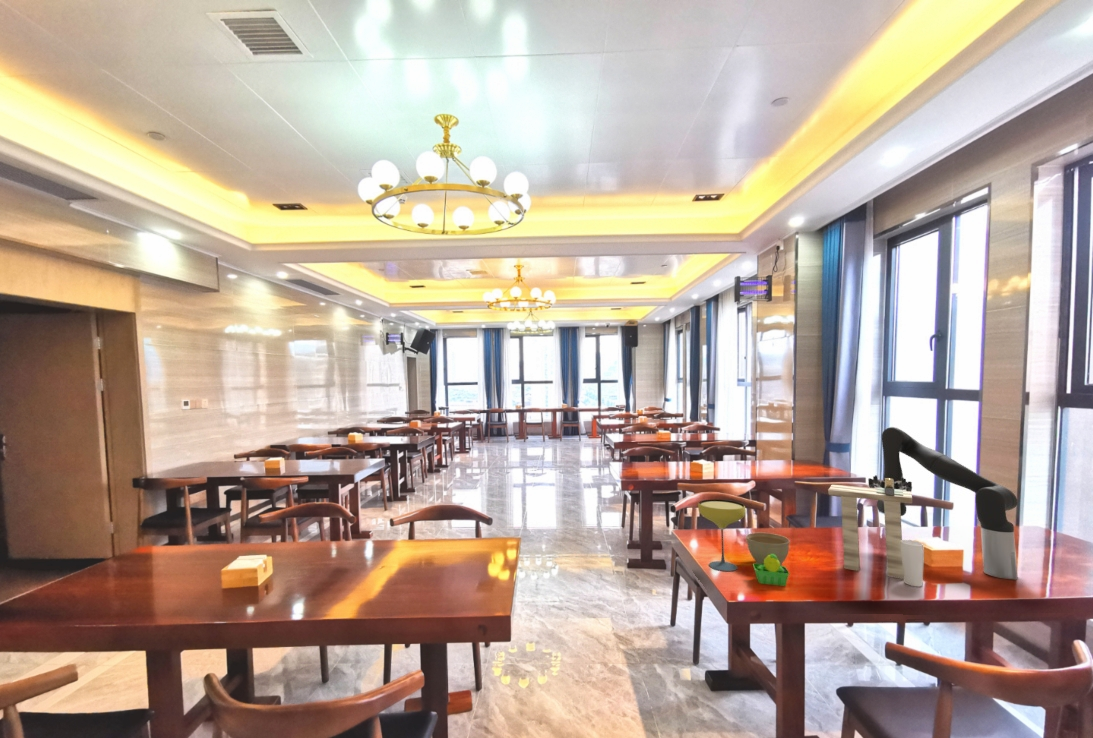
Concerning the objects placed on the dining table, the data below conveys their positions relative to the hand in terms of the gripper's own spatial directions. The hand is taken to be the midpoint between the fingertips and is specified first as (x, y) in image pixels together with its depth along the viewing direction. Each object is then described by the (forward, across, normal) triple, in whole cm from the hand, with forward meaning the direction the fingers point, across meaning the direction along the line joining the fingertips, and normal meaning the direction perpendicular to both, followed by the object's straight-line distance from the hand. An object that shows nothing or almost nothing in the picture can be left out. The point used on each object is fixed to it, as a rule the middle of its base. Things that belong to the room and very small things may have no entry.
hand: (889, 478), depth 185 cm
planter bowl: (+2, -41, +42) cm, 59 cm away
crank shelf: (-8, -6, +36) cm, 38 cm away
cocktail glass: (+13, -56, +49) cm, 75 cm away
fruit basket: (+18, -37, +52) cm, 66 cm away
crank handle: (+4, 0, +6) cm, 8 cm away
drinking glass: (-6, +6, +38) cm, 39 cm away
